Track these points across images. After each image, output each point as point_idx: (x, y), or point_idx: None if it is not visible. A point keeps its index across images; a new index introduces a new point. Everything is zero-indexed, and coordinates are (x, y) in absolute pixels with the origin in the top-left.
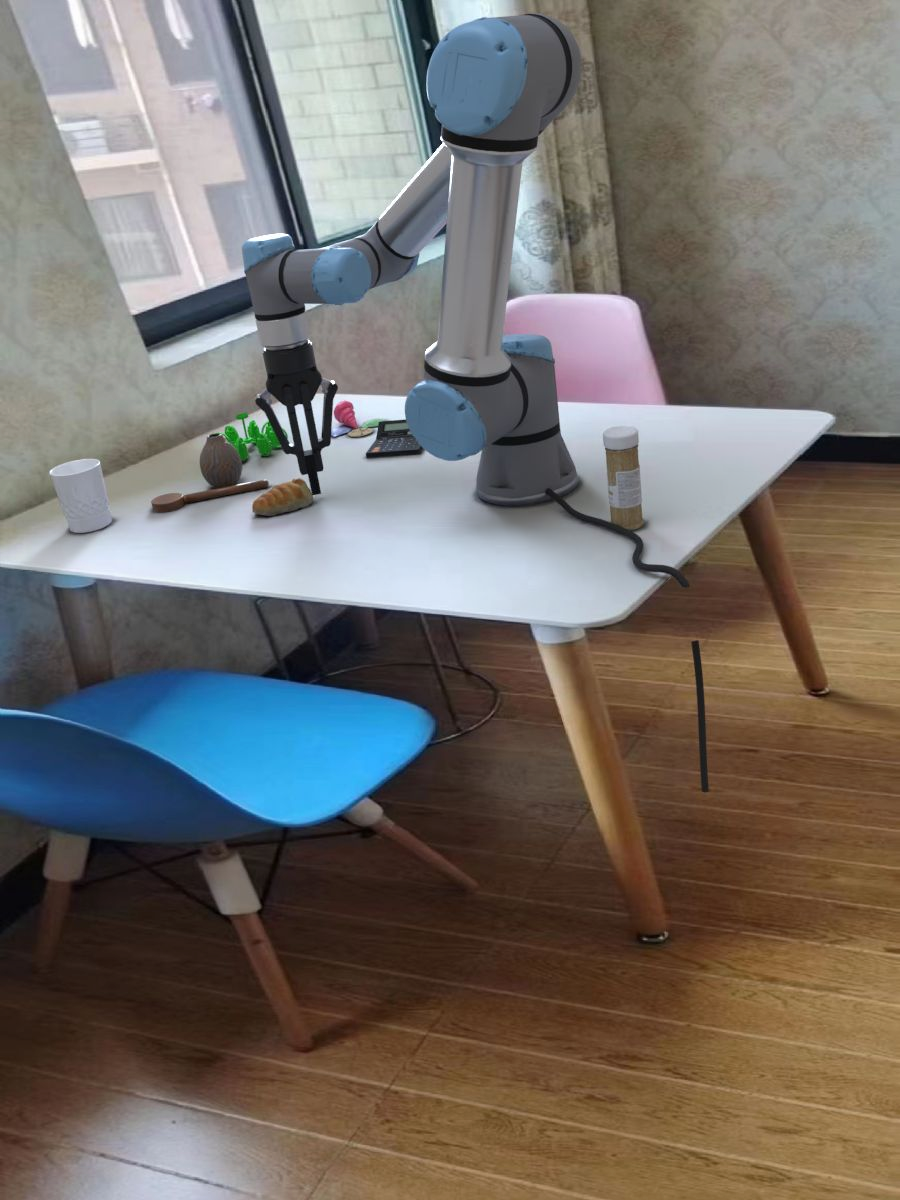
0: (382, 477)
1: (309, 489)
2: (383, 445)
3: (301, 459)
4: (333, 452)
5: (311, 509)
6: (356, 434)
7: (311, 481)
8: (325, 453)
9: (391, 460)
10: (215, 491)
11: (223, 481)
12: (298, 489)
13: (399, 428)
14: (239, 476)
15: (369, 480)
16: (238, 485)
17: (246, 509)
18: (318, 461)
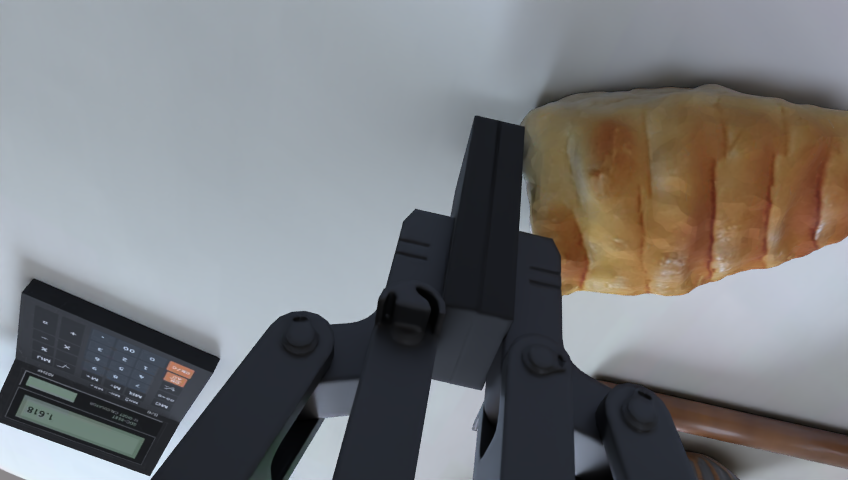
0: (161, 180)
1: (527, 165)
2: (154, 383)
3: (533, 319)
4: (313, 439)
5: (572, 35)
6: None
7: (511, 176)
8: (335, 446)
9: (133, 296)
10: (789, 441)
11: (715, 473)
12: (607, 163)
13: (96, 425)
14: None
15: (218, 188)
16: (699, 428)
17: (800, 268)
18: (420, 263)
